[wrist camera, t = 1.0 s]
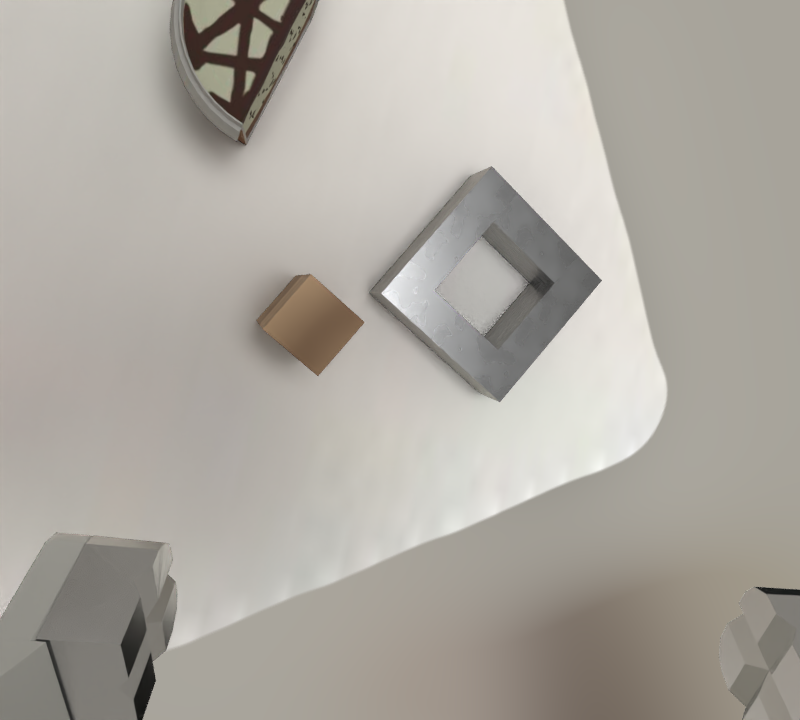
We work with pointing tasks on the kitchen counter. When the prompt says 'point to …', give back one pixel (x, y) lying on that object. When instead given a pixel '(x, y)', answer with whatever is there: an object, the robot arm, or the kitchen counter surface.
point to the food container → (236, 55)
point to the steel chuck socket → (523, 248)
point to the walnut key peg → (310, 322)
